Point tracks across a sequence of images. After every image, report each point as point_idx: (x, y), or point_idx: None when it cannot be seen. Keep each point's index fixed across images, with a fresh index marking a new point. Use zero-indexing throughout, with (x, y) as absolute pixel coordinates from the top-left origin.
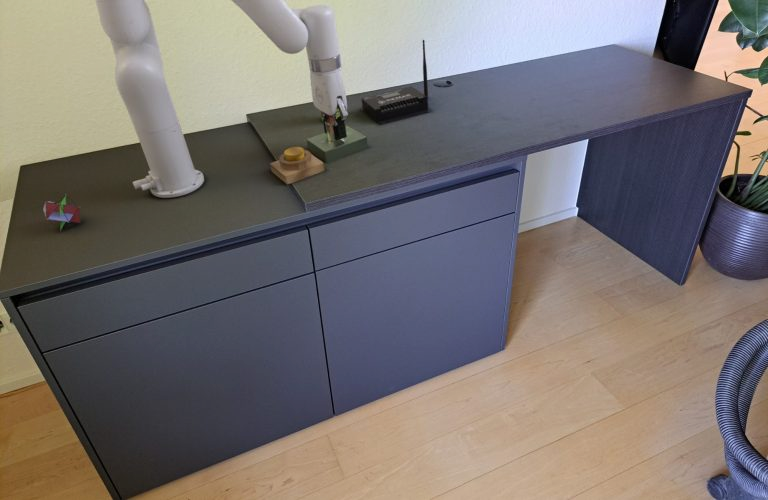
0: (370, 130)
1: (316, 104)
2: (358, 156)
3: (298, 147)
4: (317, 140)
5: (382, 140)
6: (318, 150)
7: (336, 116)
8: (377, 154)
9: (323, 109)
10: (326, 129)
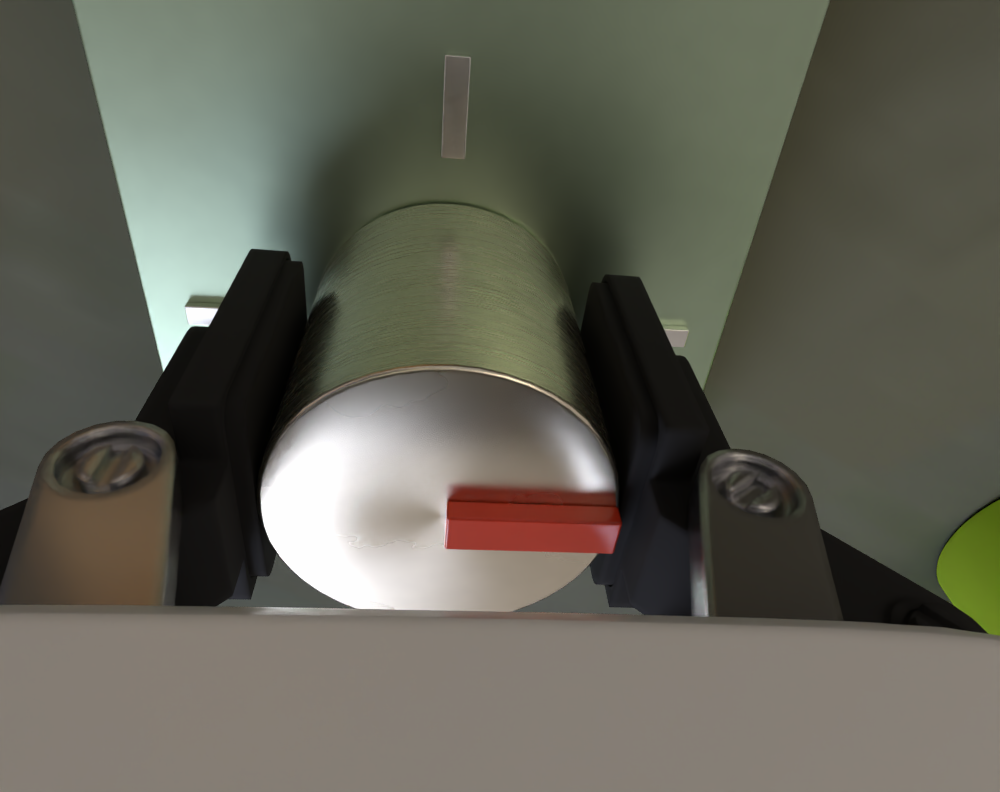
0: (546, 612)
1: (943, 783)
2: (87, 297)
3: None
4: (611, 66)
5: (296, 586)
6: None
7: (979, 585)
8: (27, 440)
9: (192, 740)
10: (477, 292)
